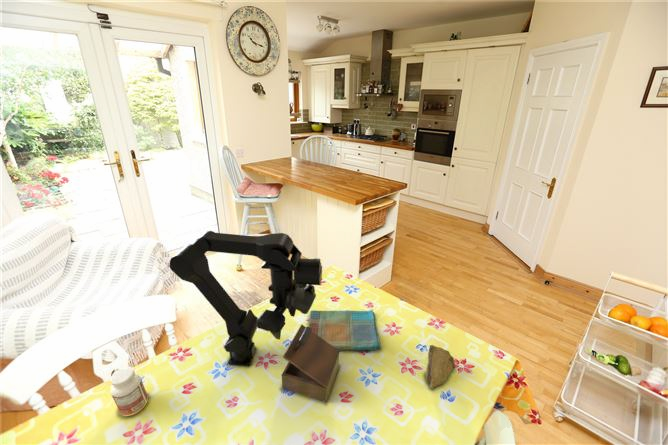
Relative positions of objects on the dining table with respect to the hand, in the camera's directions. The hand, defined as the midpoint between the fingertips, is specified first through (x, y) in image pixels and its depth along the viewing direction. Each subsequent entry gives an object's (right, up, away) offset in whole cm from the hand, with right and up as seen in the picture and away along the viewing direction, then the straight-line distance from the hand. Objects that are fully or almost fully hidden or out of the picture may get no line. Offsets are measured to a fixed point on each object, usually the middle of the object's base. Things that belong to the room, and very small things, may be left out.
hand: (285, 326), depth 82 cm
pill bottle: (-37, -17, -8) cm, 42 cm away
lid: (+8, -6, -3) cm, 11 cm away
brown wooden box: (+7, -14, 0) cm, 16 cm away
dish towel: (+17, -7, +16) cm, 25 cm away
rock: (+45, -14, +2) cm, 47 cm away
